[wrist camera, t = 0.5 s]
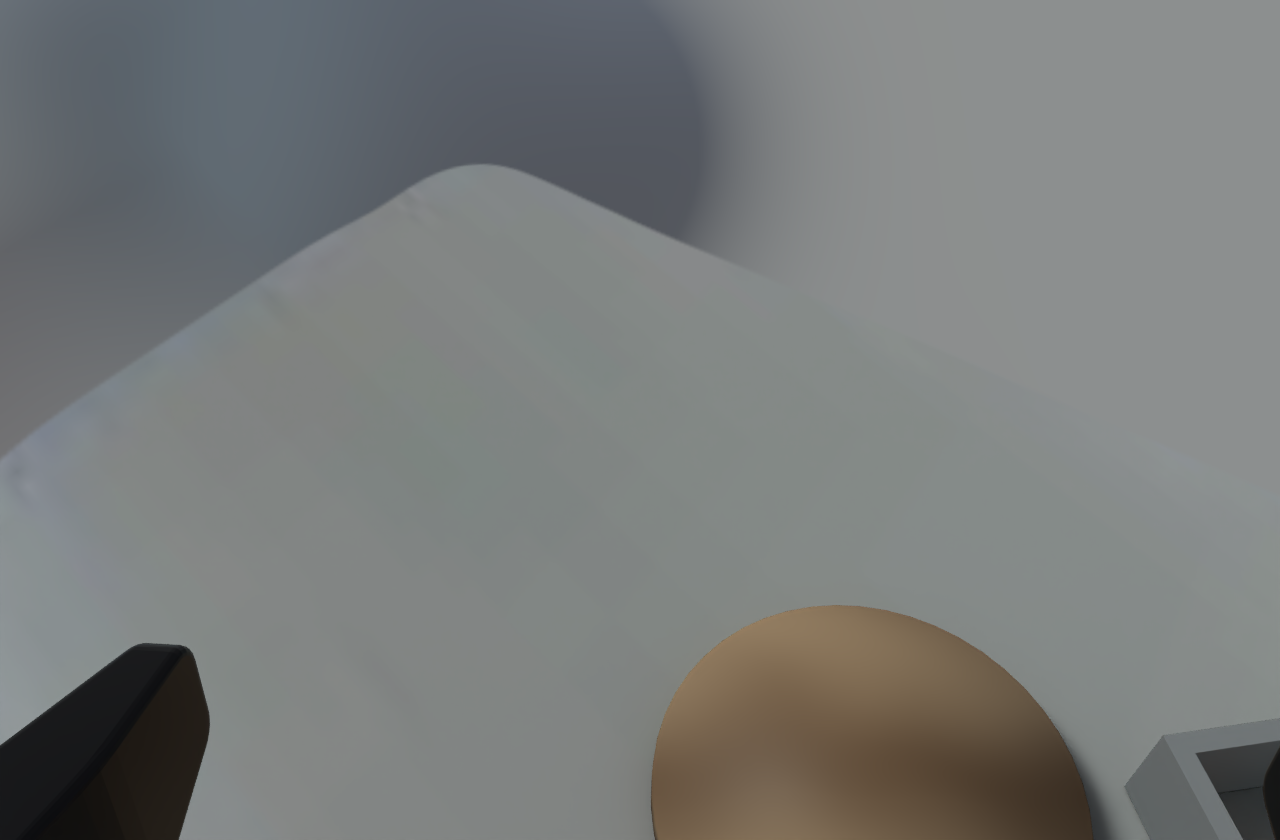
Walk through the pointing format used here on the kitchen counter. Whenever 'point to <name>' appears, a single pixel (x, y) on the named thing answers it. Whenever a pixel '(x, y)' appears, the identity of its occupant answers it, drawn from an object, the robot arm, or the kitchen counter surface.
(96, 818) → the robot arm
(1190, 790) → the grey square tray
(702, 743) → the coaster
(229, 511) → the kitchen counter surface
